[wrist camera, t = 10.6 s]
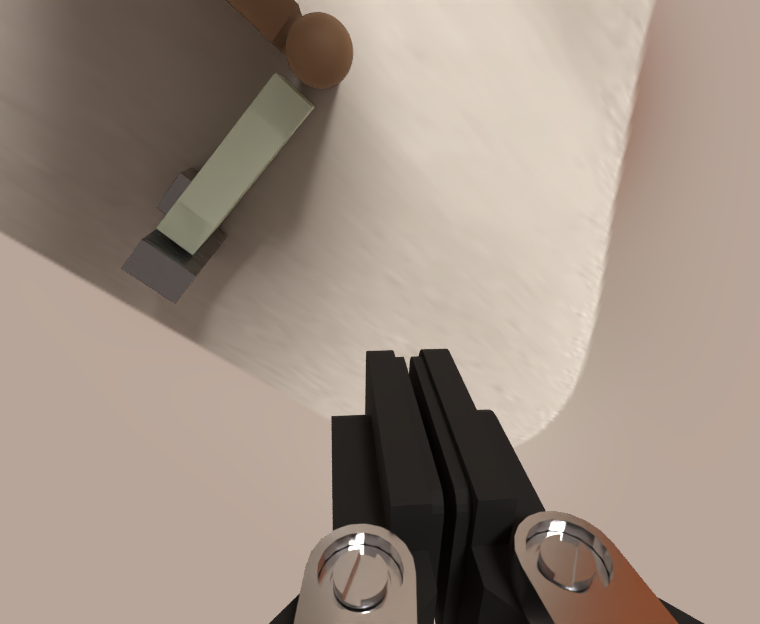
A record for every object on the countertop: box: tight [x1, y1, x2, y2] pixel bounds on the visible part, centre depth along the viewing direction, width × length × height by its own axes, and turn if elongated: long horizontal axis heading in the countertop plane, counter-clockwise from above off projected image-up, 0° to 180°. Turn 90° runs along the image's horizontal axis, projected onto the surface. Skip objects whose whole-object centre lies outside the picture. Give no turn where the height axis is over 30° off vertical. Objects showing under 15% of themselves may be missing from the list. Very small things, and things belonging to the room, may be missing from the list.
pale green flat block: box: [157, 73, 315, 255], centre depth 24 cm, size 9×2×6 cm, turn 137°
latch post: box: [121, 168, 227, 303], centre depth 25 cm, size 4×4×8 cm
